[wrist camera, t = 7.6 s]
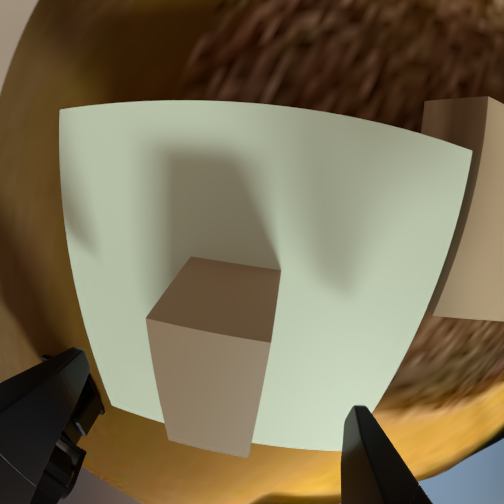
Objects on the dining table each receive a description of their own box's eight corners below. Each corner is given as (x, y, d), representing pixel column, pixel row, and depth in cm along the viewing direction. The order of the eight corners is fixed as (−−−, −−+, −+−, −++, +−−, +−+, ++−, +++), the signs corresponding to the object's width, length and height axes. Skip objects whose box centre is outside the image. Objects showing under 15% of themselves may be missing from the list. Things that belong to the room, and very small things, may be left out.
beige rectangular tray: (146, 348, 20) (111, 405, 15) (136, 71, 13) (63, 59, 8) (472, 383, 18) (493, 436, 13) (561, 165, 10) (619, 189, 5)
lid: (124, 383, 17) (87, 447, 12) (90, 108, 10) (-14, 119, 5) (344, 424, 16) (346, 502, 11) (446, 144, 9) (543, 173, 4)
